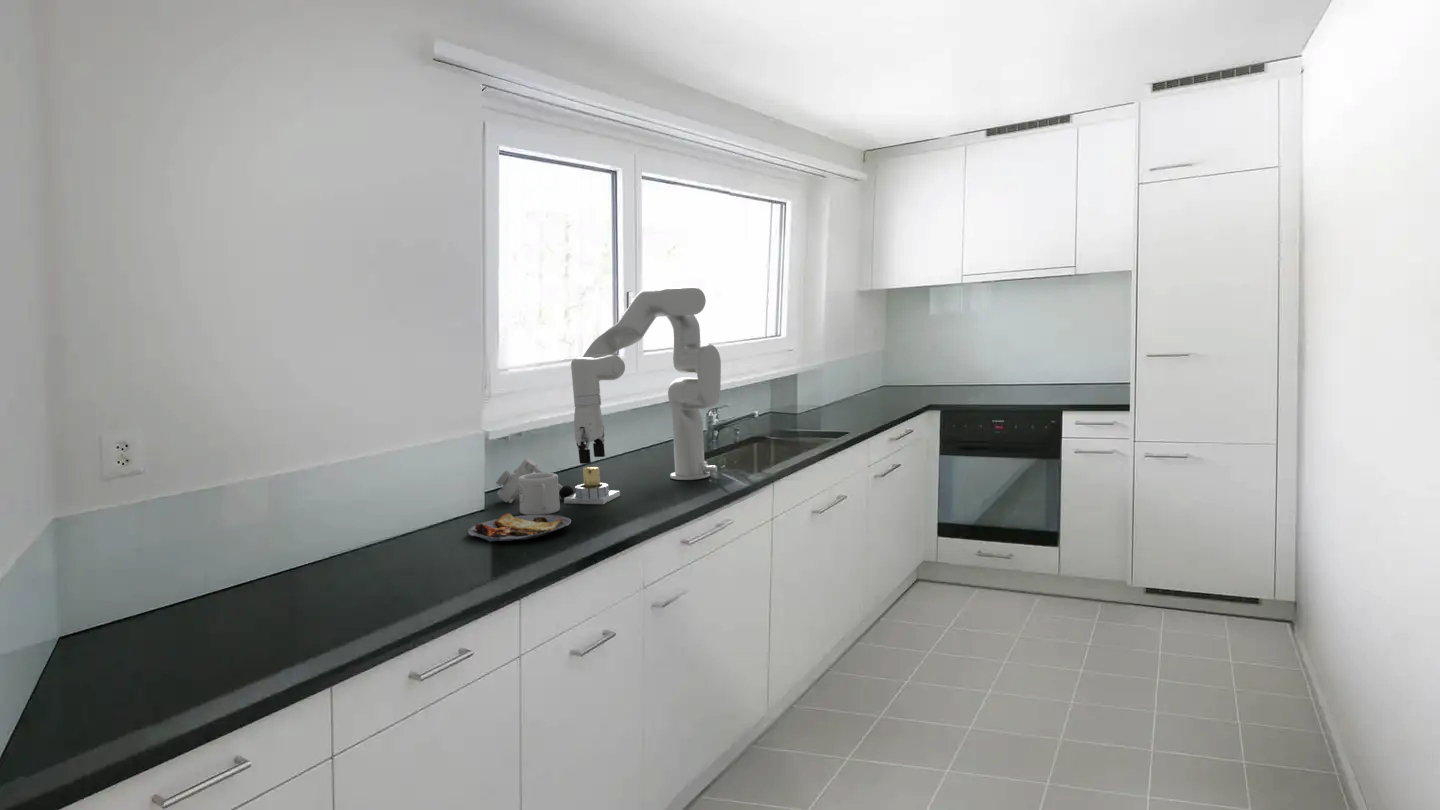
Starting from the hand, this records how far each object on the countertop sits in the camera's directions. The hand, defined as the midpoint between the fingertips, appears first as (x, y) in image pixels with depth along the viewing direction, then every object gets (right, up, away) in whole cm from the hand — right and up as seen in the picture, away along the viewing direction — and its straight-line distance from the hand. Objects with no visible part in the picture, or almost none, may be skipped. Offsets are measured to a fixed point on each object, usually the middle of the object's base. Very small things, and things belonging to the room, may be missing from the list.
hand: (592, 460), depth 278 cm
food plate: (-13, -16, -38) cm, 43 cm away
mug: (-12, -14, -14) cm, 23 cm away
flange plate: (0, -11, +1) cm, 11 cm away
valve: (-17, -12, +3) cm, 21 cm away
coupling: (0, -10, +1) cm, 10 cm away
